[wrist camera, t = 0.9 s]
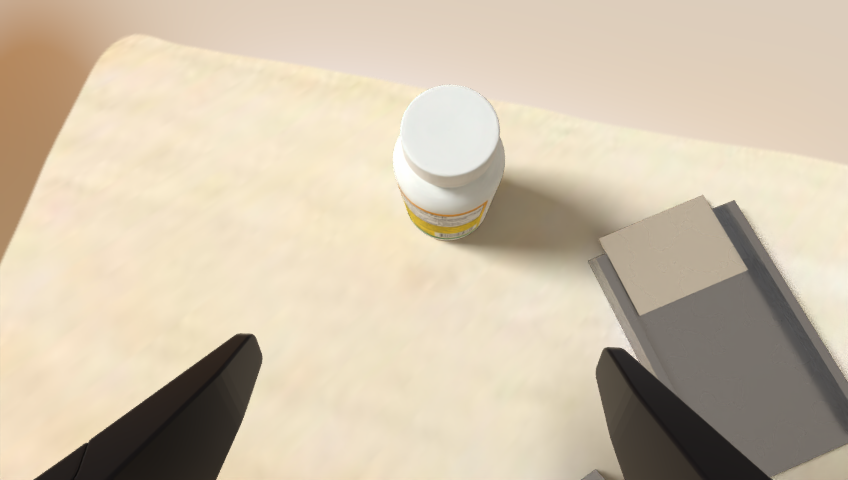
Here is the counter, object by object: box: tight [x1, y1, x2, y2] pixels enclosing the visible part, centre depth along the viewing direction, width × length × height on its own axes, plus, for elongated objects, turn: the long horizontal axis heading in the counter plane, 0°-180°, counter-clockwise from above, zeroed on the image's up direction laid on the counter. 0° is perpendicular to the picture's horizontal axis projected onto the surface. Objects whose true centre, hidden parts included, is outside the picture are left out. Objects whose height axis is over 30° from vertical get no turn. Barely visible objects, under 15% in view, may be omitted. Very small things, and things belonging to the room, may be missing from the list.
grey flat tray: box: [588, 195, 848, 477], centre depth 21 cm, size 15×9×1 cm, turn 22°
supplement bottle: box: [393, 85, 505, 240], centre depth 19 cm, size 5×5×10 cm
